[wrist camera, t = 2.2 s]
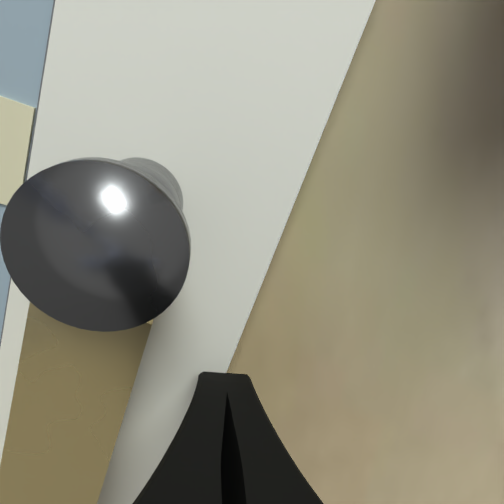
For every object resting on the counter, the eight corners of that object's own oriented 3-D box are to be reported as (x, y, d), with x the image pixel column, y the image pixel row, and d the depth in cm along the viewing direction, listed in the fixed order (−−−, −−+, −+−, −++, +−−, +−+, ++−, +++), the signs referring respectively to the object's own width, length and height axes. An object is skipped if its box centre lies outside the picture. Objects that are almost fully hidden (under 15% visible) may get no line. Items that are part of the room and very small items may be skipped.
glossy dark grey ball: (81, 224, 10) (-11, 306, 6) (104, 118, 9) (14, 132, 5) (184, 254, 11) (163, 349, 7) (215, 157, 10) (212, 197, 6)
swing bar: (74, 249, 9) (8, 316, 6) (166, 275, 9) (144, 349, 7) (14, 530, 12) (-47, 658, 9) (85, 541, 13) (46, 665, 10)
